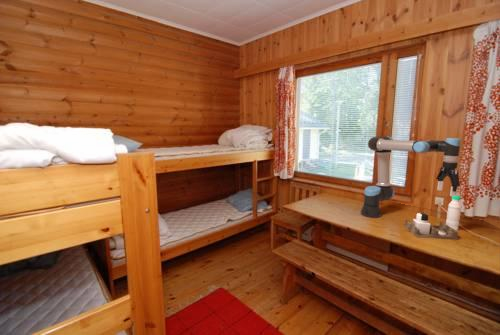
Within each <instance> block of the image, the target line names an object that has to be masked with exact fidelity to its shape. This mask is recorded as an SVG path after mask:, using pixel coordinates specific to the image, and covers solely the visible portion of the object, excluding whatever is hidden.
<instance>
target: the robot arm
mask: <svg viewBox="0 0 500 335" xmlns="http://www.w3.org/2000/svg"><path fill="white" fill-rule="evenodd" d="M461 142H462V140H461V139H460V138H458V137H447V138H446V139H445V140H434V139H427V140H406V139H404V140H401V139H399V140H398V139H393V138H392V137H391V136H386V135H383V136H381V135H379V136H372V137H371V138H370V139H369V140H368V142H367V145H368V148H369V149H370V150H371V151H374V152H375V153H376V155H377V183H376V184H375V185H369V186H366V187H365V188H364V192H363V193H364V194H363V195H364V196H363V205H362V207H361V209H360V215H362V216H364V217H367V218H372V219H373V218H374V219H376V218H380V217H381V216H382V213H381V209H380V208H381V207H380V202H383V201H389V200H391V199H393V198H394V196H395V189H394V188H393V187H392V184H391V183H390V154H392V151H399V152H402V151H403V152H411V153H412V152H413V153H415V152H416V153H419V154H424V153H432V152H435V153H436V152H437V153H438V152H440V153H443V157H442V159H443V160H442V166H441V167H440V169H439V172H438V174H437V176H436V178H435V179H436V180H437V181H438V182H437V190H436V191H443V187H444V179H445V178H446V177H448V178H449V180H450V183H451V185H450V192H449V196H450V197H452V196H455V195H456V194H457V188H459V187H461V184H460V177H459V176H460V175H459V170H456V169H457V168H458V165H459V164H458V162H459V157H460V156H459V154H460V150H461V146H462V144H461ZM456 196H457V195H456Z"/></svg>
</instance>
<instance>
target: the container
mask: <svg viewBox="0 0 500 335" xmlns="http://www.w3.org/2000/svg"><path fill="white" fill-rule="evenodd" d="M428 221H429V215H428V214H426V213H423V212H418V213H416V218H413V219H412V224H413V225H415V226H416V227H417V228H418V229H419V230H420V231H419V234H427V235H429V232H430V225H432V224H431V223H430V222H428Z"/></svg>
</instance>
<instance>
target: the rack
mask: <svg viewBox="0 0 500 335" xmlns="http://www.w3.org/2000/svg"><path fill="white" fill-rule="evenodd" d="M403 227H405V228H406V229H407V230H408V231H409V232H411V233H412V234H413V236H415V237H416V238H421V239H423V238H424V239H438V240H440V239H441V240H455V241H456V240H459V237H458V234H459V230H457V231H456V230H454V229H453V228H451V227H450V226H448V225H447V224H446V222H443V221H439V225H436V224H435V225H433V224H431V225H430V232H429V235H427V234H419V231H420V230H419V229H418V228H417V227H416V226H415V225H413V222H411V221H410V220H408V219H405V223H404V225H403ZM437 229H439V230H443V231H445V232H446V235H445V236H441V235H438V232H439V231H438V230H437Z"/></svg>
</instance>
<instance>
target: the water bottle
mask: <svg viewBox="0 0 500 335" xmlns="http://www.w3.org/2000/svg"><path fill="white" fill-rule="evenodd" d="M461 198H462V197H461V196H460V195H455V196H451V201H450V202H449V203H448V206H447V212H446V219H445V224H447V225H448V226H450V227H451V228H453V229H454V230H456V231H459V225H460V218H461V214H462V211H461V210H462V205H461V202H460V201H461Z"/></svg>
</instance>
